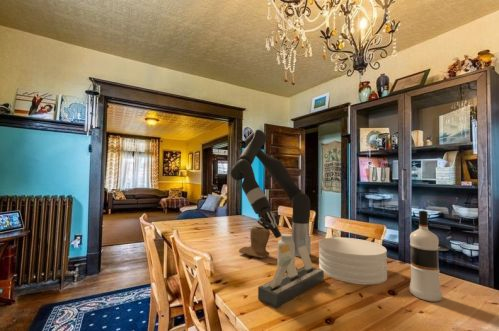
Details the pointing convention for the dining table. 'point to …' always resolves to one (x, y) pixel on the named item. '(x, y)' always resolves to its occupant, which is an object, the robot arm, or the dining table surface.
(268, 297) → the switch strip
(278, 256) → the pill bottle
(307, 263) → the lever slate
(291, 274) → the lever amber
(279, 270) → the lever sage
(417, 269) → the vodka
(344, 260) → the plate stack
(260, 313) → the dining table surface
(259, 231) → the brown boot
